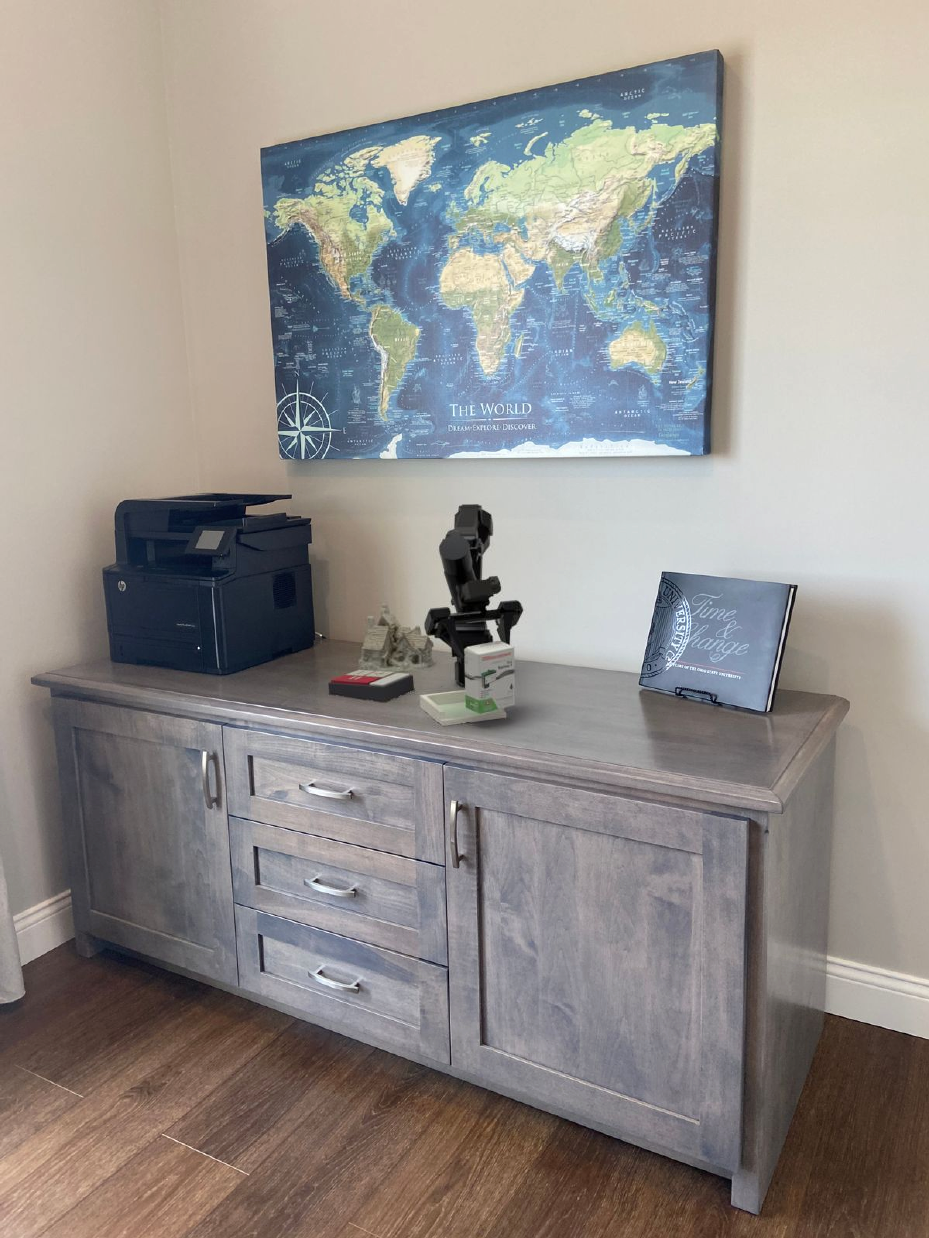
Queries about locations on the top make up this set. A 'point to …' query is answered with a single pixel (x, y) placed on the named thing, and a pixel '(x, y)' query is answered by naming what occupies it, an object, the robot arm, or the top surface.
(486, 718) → the bay
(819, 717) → the top surface
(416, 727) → the top surface
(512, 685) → the ink box
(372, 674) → the calculator
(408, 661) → the ceramic cottage
